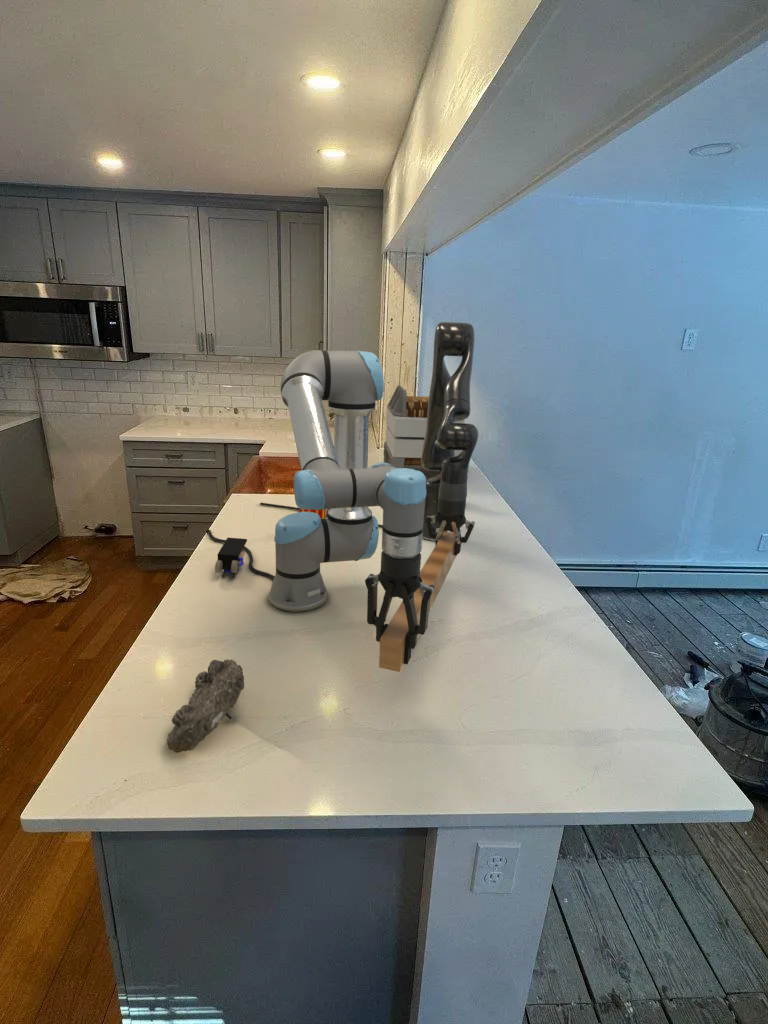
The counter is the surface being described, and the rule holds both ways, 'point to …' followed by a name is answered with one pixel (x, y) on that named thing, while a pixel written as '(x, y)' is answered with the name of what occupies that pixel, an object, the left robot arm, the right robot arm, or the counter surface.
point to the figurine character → (230, 556)
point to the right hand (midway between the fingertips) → (447, 552)
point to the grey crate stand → (406, 429)
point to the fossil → (206, 705)
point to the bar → (416, 603)
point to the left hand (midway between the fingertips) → (395, 657)
